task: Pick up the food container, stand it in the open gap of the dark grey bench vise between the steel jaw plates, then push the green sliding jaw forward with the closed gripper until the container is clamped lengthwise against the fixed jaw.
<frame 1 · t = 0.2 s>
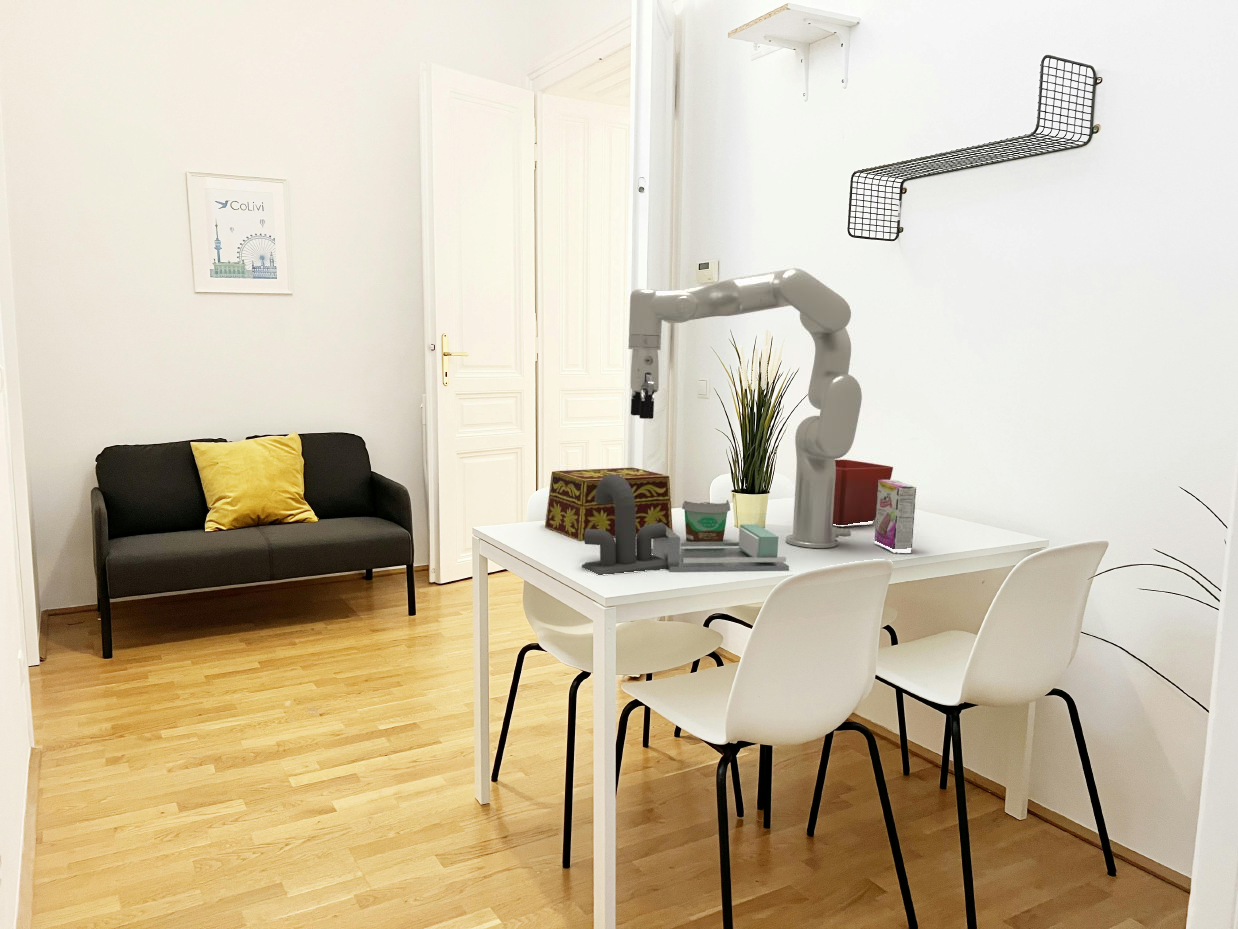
hand: (641, 416, 216), 31 cm above the table, tool pointing down, fingers open, 9 cm apart
vise bed: (717, 561, 205), on the table
sliding jaw: (757, 542, 206), point 4 cm above the table, slide at 0.0 cm
faucet: (618, 566, 200), on the table, touching vise bed
decorative box: (608, 531, 237), on the table
candy bar box: (892, 550, 225), on the table
food container: (708, 543, 225), on the table
plant pot: (840, 523, 258), on the table
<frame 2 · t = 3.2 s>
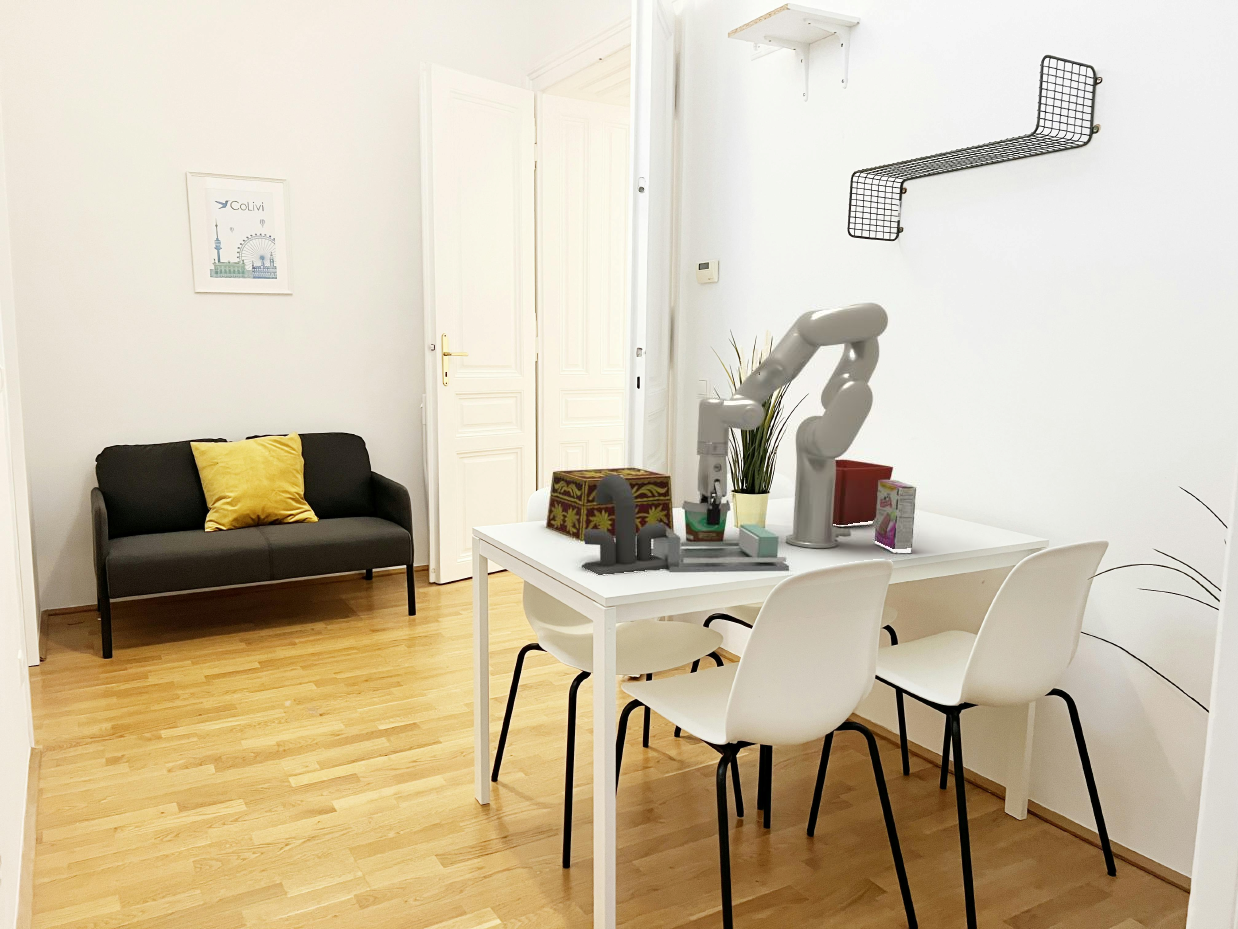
hand: (709, 521, 225), 5 cm above the table, tool pointing down, fingers closed on food container, 6 cm apart
food container: (708, 543, 225), on the table, touching gripper
everything else where it was.
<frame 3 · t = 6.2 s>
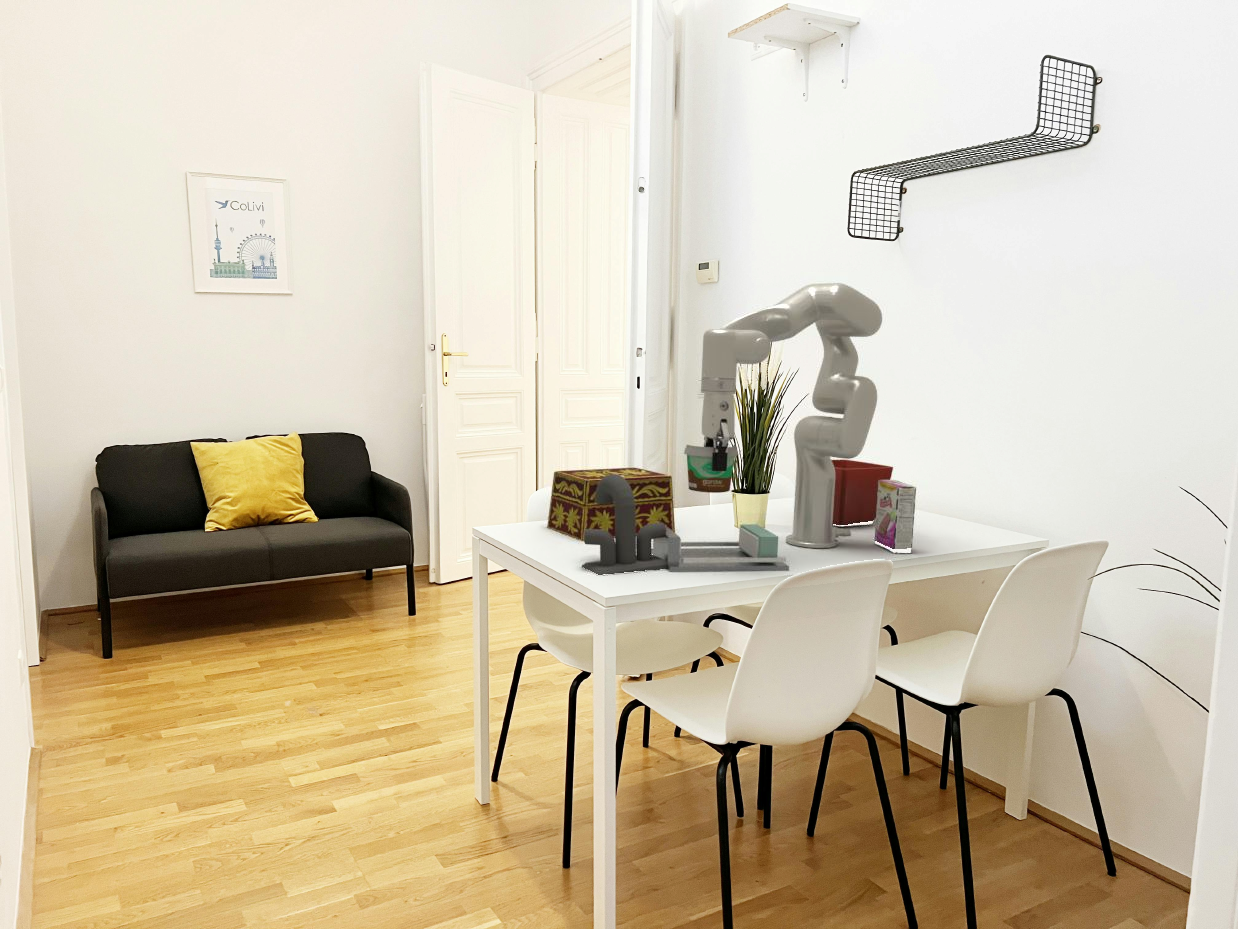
hand: (714, 468, 202), 21 cm above the table, tool pointing down, fingers closed on food container, 6 cm apart
food container: (713, 492, 203), point 16 cm above the table, touching gripper
everything else where it was.
when the fingers open (7 cm above the table, at t = 9.2 s): food container stays where it is, resting on vise bed.
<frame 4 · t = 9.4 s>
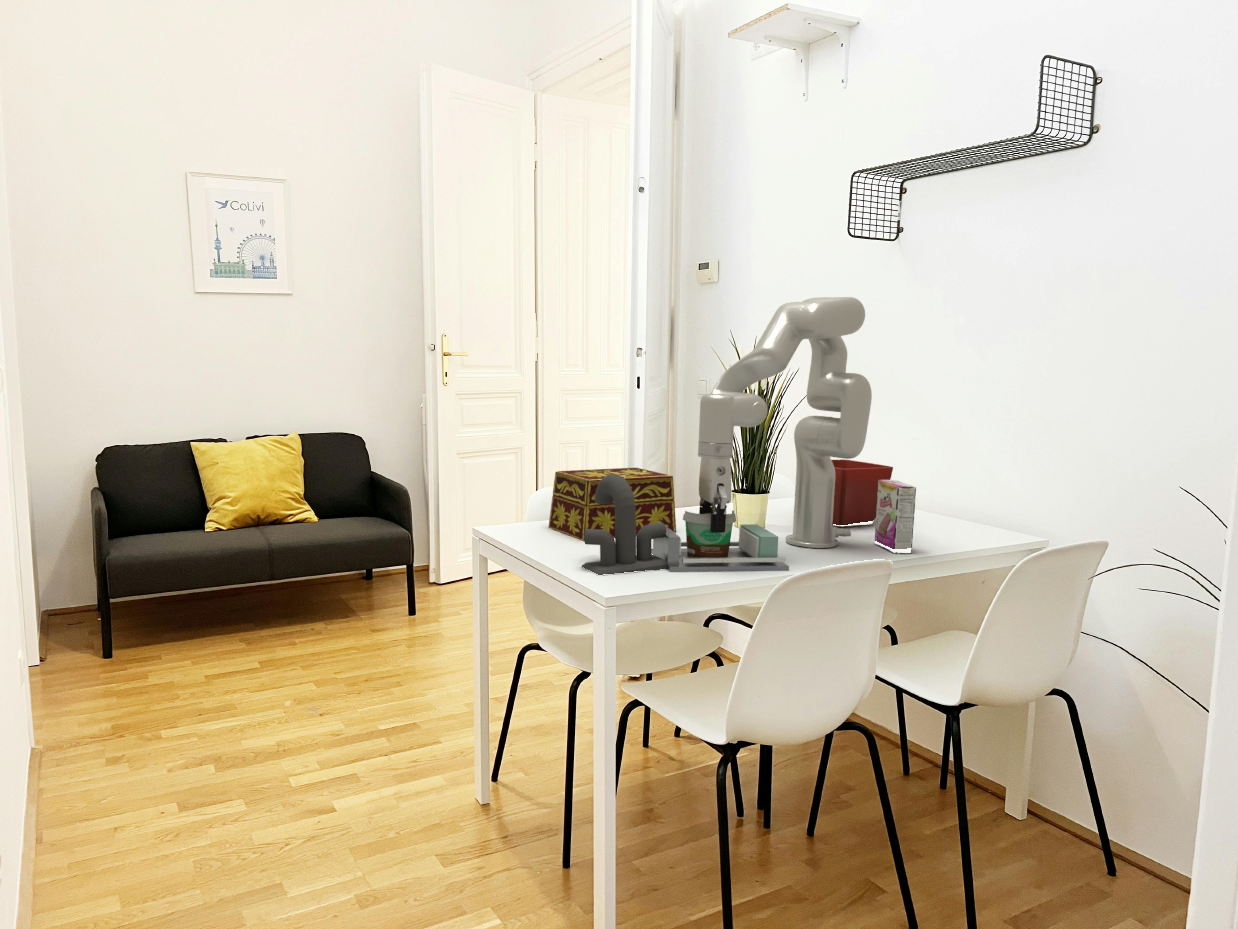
hand: (711, 528, 204), 8 cm above the table, tool pointing down, fingers open, 8 cm apart
food container: (711, 558, 204), point 1 cm above the table, touching vise bed
everything else where it was.
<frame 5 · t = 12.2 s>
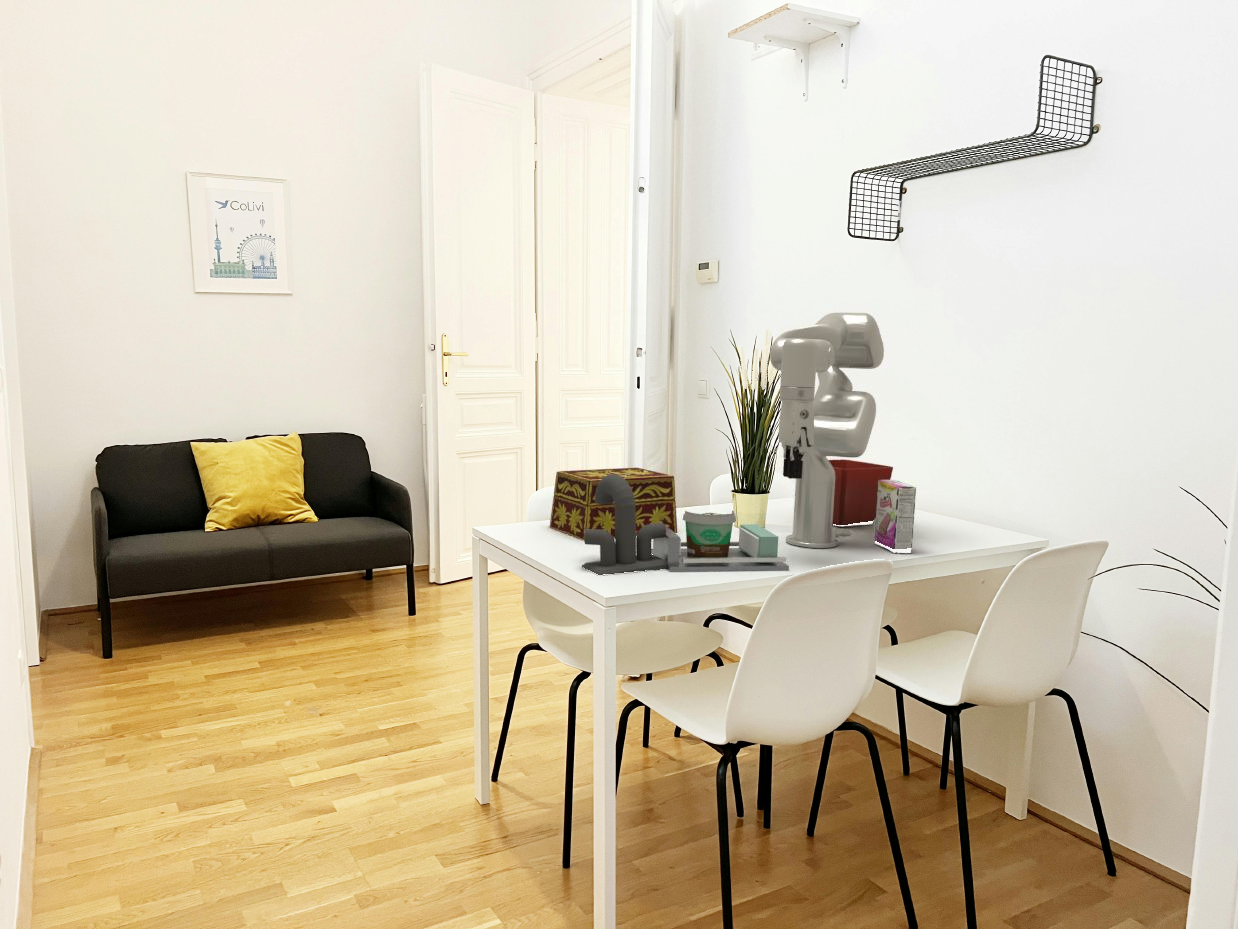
hand: (792, 476, 206), 19 cm above the table, tool pointing down, fingers closed
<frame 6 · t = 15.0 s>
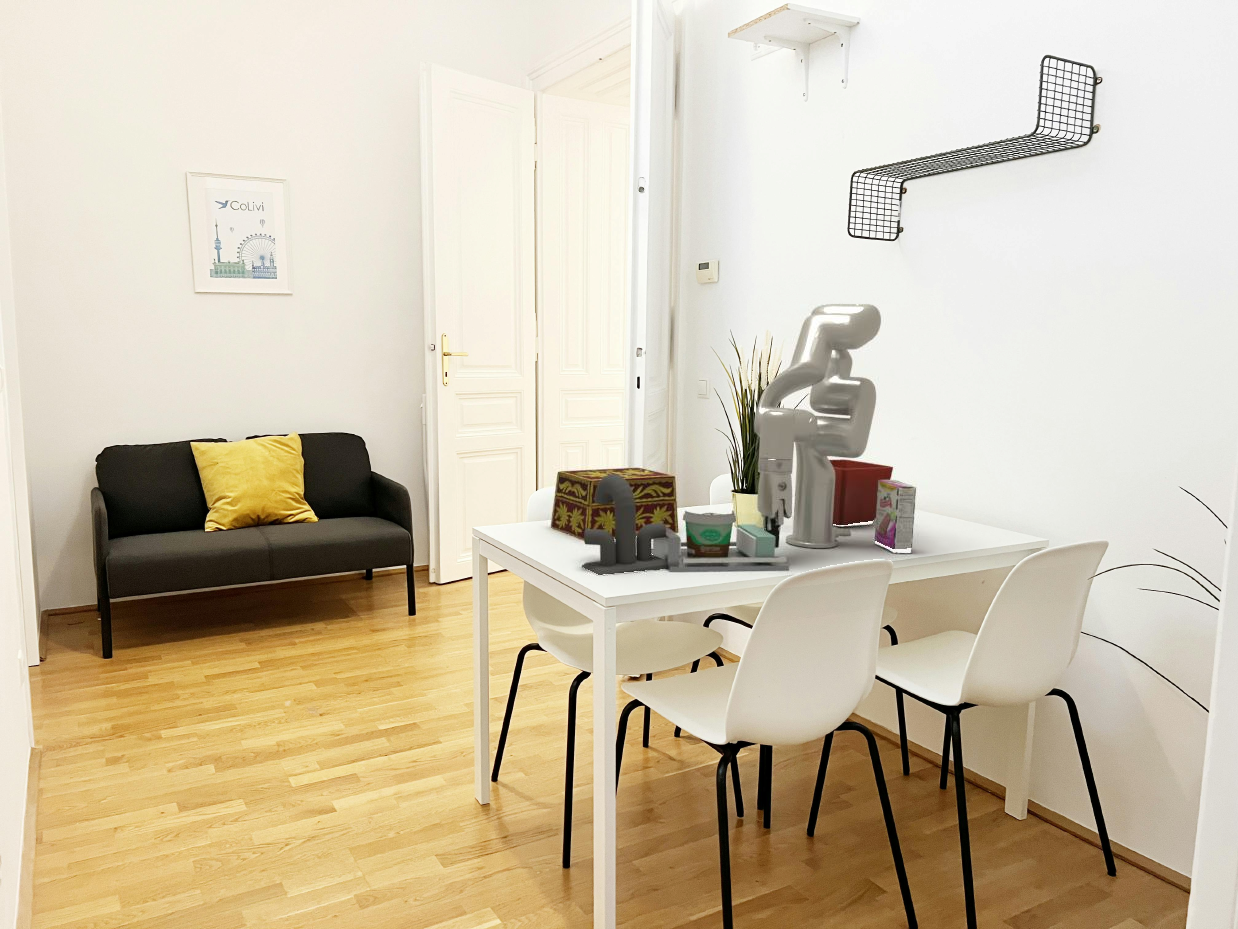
hand: (770, 546, 207), 3 cm above the table, tool pointing down, fingers closed
sliding jaw: (754, 542, 206), point 4 cm above the table, slide at 0.7 cm, touching gripper
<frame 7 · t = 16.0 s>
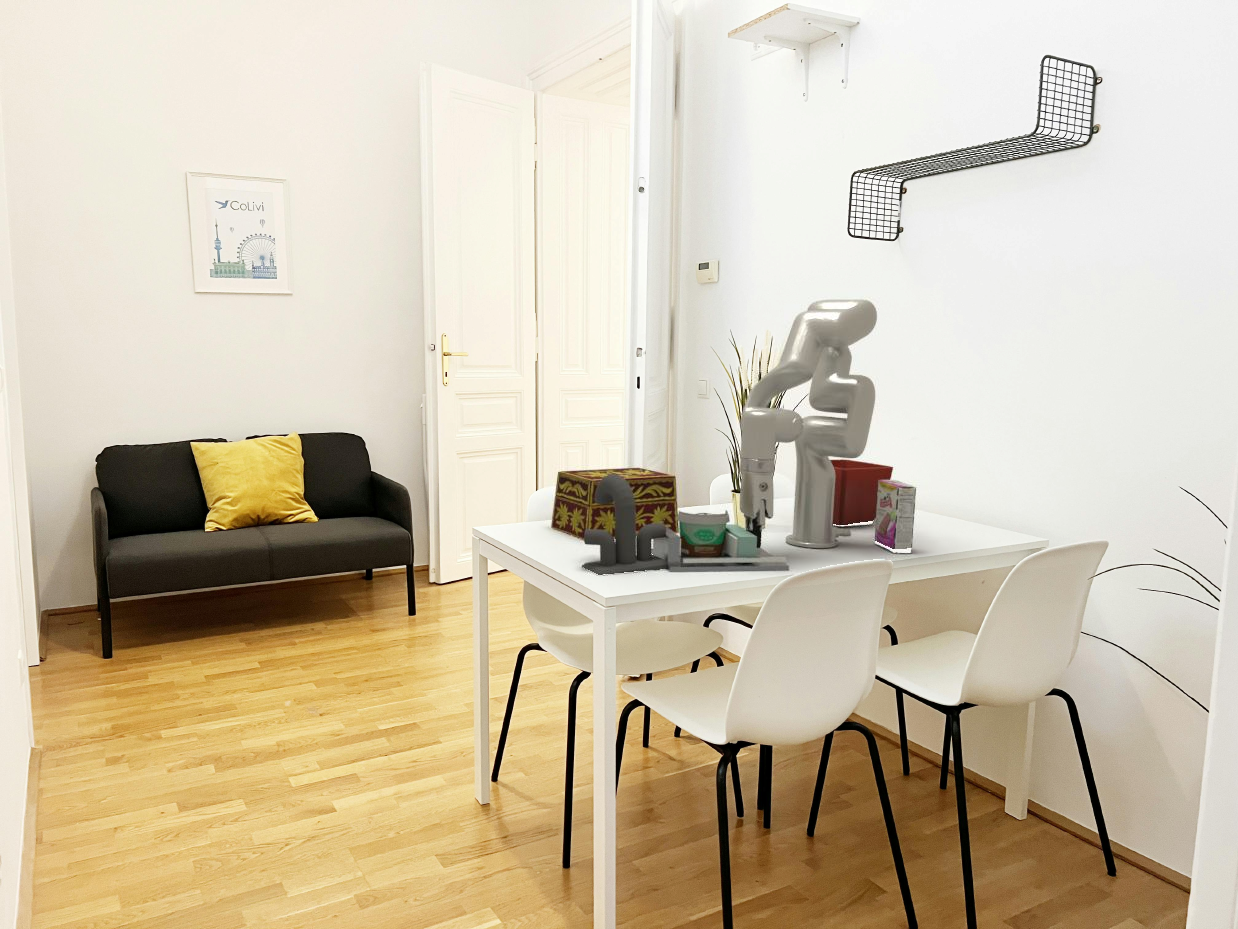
hand: (752, 547, 206), 3 cm above the table, tool pointing down, fingers closed
sliding jaw: (736, 543, 205), point 4 cm above the table, slide at 4.9 cm, touching food container, gripper
food container: (705, 558, 204), point 1 cm above the table, touching sliding jaw, vise bed
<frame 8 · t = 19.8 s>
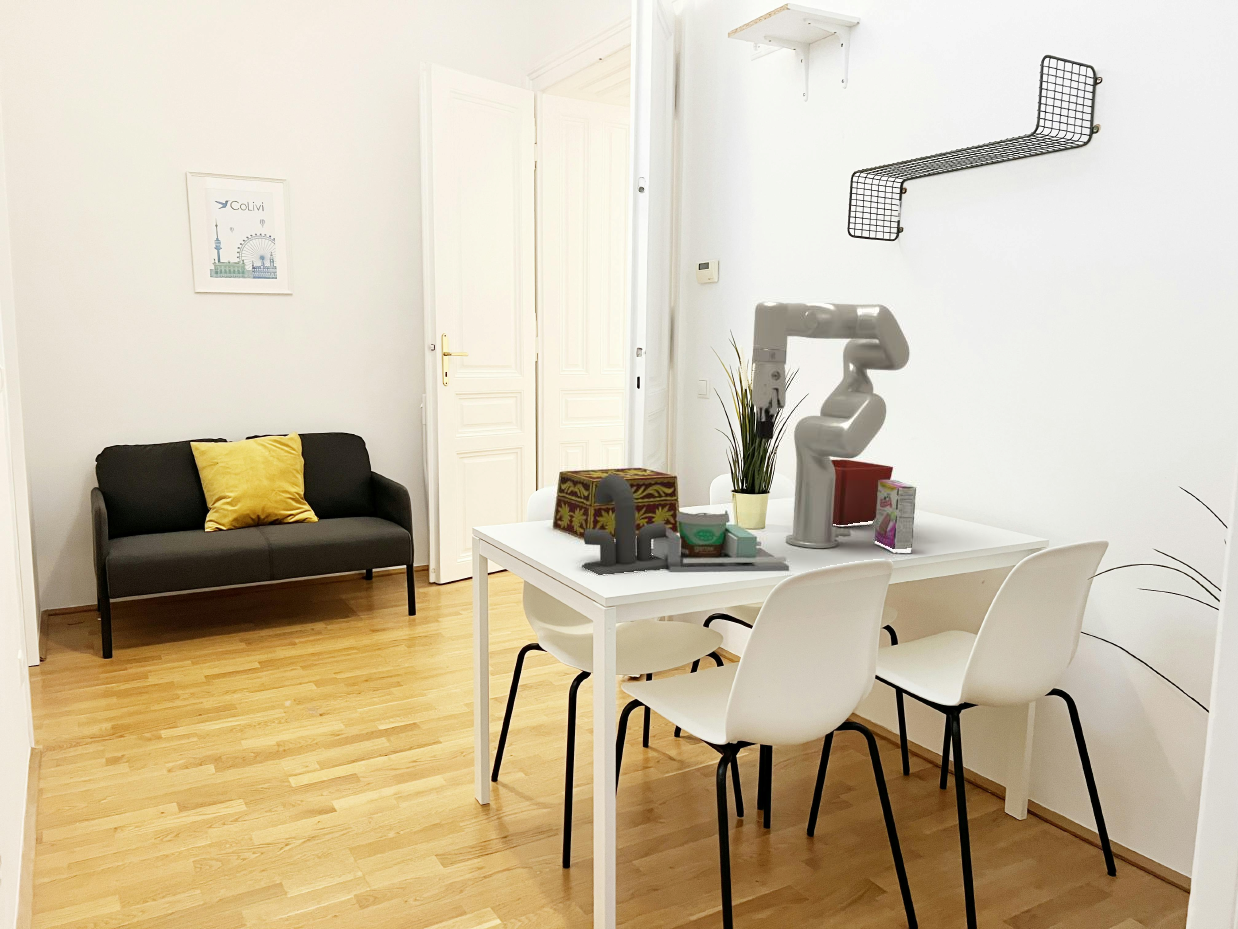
hand: (765, 438, 210), 27 cm above the table, tool pointing down, fingers closed
sliding jaw: (736, 543, 205), point 4 cm above the table, slide at 4.9 cm
food container: (705, 558, 204), point 1 cm above the table, touching vise bed
at the end: sliding jaw slide at 4.9 cm; food container inside the target area (1.6 cm from its centre), point 0.8 cm above the table; food container tilted 0° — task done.
